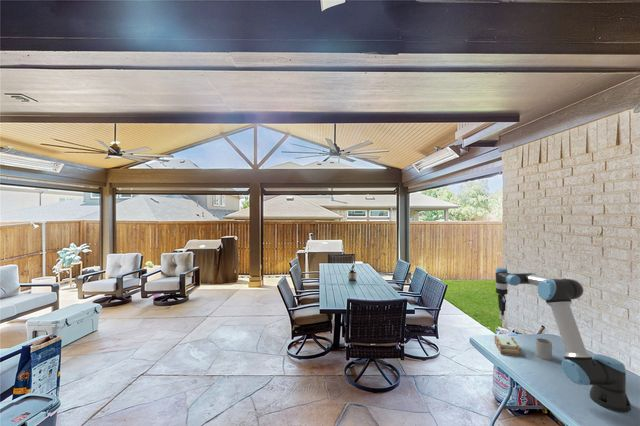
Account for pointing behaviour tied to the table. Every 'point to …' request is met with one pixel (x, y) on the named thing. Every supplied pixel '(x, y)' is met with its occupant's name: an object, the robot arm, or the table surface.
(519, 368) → the table surface
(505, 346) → the lid
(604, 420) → the table surface
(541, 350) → the mug
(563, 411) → the table surface
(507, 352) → the wooden slatted rack
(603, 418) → the table surface
